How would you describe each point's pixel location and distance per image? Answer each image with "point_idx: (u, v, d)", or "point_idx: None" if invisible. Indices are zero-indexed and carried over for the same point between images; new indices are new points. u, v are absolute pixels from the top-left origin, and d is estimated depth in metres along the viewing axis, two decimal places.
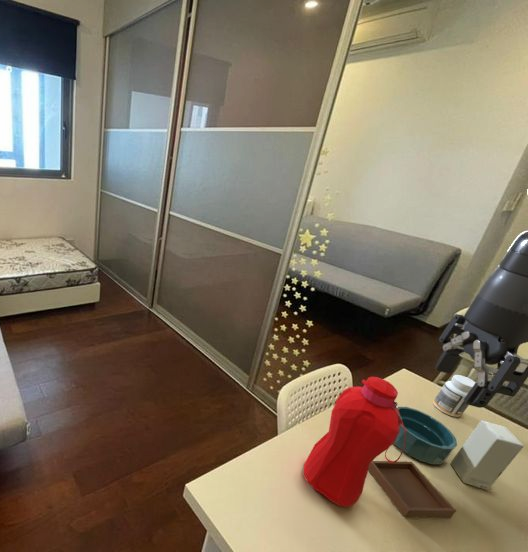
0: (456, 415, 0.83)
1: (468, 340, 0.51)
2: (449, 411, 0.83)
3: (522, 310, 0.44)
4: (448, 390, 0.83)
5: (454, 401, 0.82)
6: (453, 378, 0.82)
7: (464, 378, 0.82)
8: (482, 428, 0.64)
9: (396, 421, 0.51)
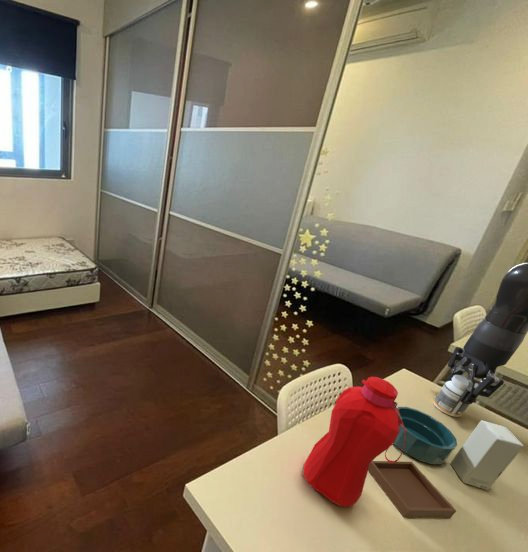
0: (456, 415, 0.83)
1: (466, 363, 0.81)
2: (449, 411, 0.83)
3: (498, 347, 0.74)
4: (448, 390, 0.83)
5: (454, 401, 0.82)
6: (453, 378, 0.82)
7: (464, 378, 0.82)
8: (482, 428, 0.64)
9: (396, 421, 0.51)
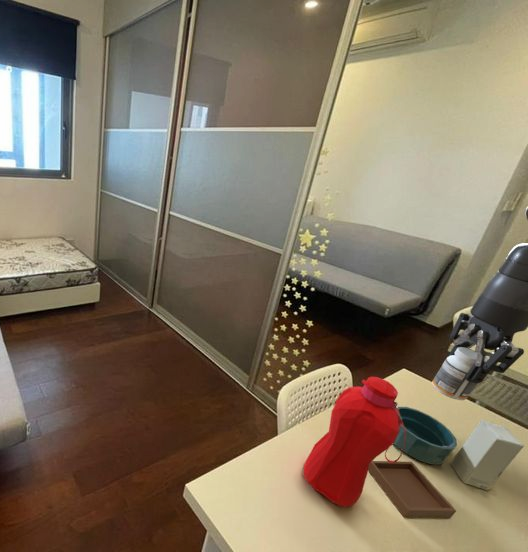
0: (460, 398, 0.65)
1: (474, 331, 0.63)
2: (451, 393, 0.66)
3: (516, 306, 0.56)
4: (450, 366, 0.65)
5: (457, 380, 0.64)
6: (457, 351, 0.65)
7: (471, 351, 0.65)
8: (482, 428, 0.64)
9: (396, 421, 0.51)
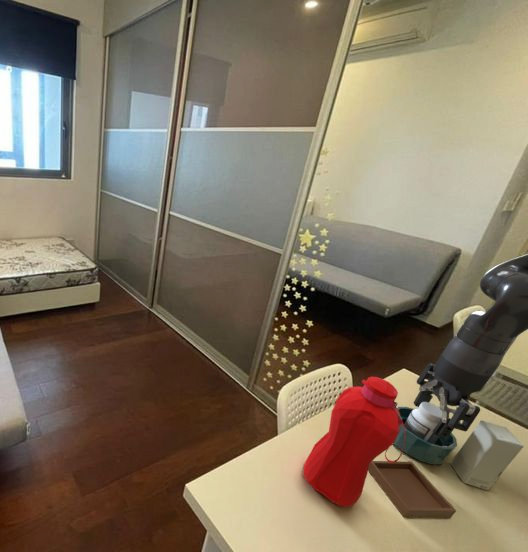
0: None
1: (436, 386, 0.69)
2: None
3: (471, 370, 0.61)
4: (415, 420, 0.71)
5: (421, 434, 0.70)
6: (420, 406, 0.70)
7: (433, 406, 0.70)
8: (482, 428, 0.64)
9: (396, 421, 0.51)
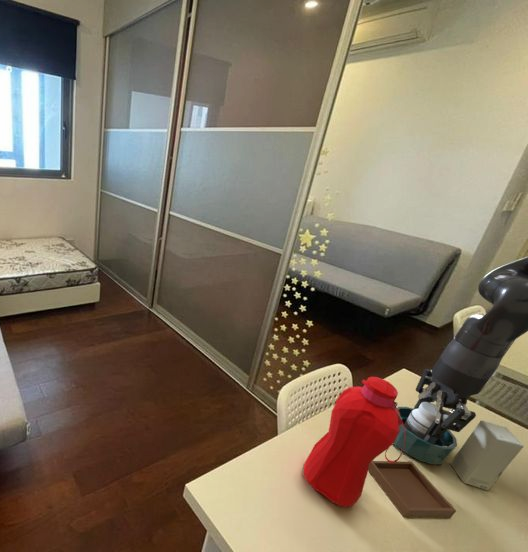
0: None
1: (435, 389, 0.69)
2: None
3: (469, 373, 0.62)
4: (415, 420, 0.71)
5: (421, 434, 0.70)
6: (420, 406, 0.70)
7: (433, 406, 0.70)
8: (482, 428, 0.64)
9: (396, 421, 0.51)
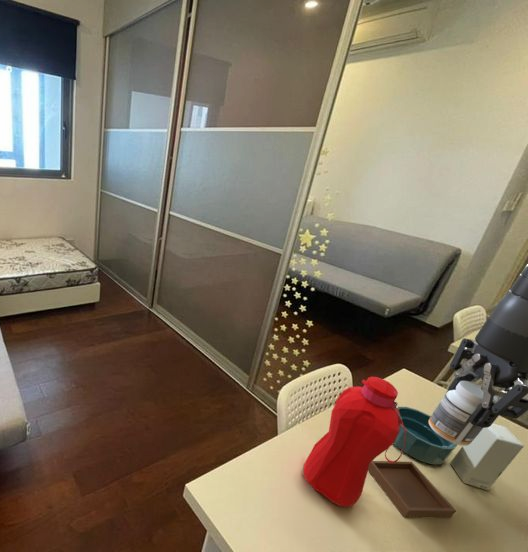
0: (463, 443, 0.53)
1: (479, 362, 0.52)
2: (452, 437, 0.54)
3: None
4: (451, 404, 0.54)
5: (460, 422, 0.53)
6: (458, 386, 0.53)
7: (476, 386, 0.53)
8: None
9: (396, 421, 0.51)
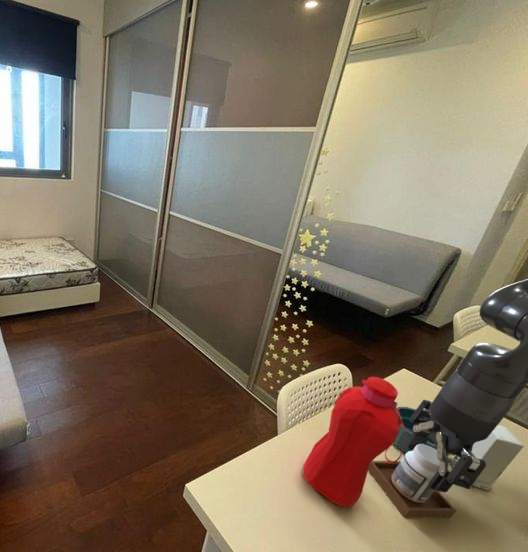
0: (419, 501, 0.60)
1: (433, 429, 0.58)
2: (410, 495, 0.60)
3: (475, 415, 0.50)
4: (408, 466, 0.60)
5: (416, 483, 0.59)
6: (415, 450, 0.59)
7: (430, 450, 0.59)
8: None
9: (396, 421, 0.51)
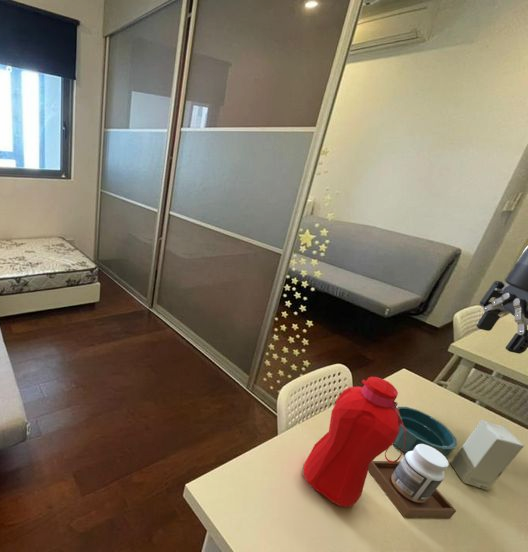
0: (419, 501, 0.60)
1: (508, 300, 0.62)
2: (410, 495, 0.60)
3: None
4: (408, 466, 0.60)
5: (416, 483, 0.59)
6: (415, 450, 0.59)
7: (430, 450, 0.59)
8: (482, 428, 0.64)
9: (396, 421, 0.51)
